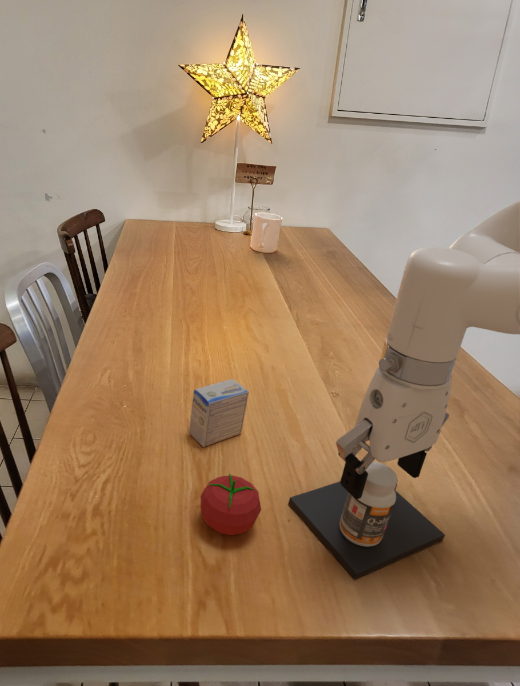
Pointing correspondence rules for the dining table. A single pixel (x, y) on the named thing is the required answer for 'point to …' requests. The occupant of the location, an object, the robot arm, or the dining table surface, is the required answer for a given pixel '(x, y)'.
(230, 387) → the medicine box
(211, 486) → the tomato
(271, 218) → the mug
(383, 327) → the dining table surface
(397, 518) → the scale
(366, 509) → the pill bottle
